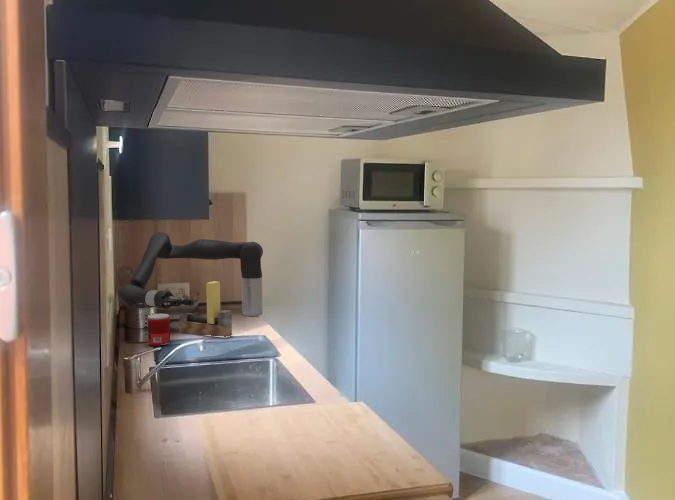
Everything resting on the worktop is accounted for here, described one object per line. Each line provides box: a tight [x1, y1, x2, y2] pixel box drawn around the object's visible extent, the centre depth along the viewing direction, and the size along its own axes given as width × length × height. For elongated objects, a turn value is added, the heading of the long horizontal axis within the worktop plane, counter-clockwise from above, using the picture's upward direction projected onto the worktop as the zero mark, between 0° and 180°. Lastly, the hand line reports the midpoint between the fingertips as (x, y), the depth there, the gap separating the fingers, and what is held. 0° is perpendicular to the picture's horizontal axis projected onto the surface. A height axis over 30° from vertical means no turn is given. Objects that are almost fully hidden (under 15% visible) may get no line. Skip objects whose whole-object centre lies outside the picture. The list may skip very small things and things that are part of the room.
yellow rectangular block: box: [205, 280, 221, 324], centre depth 263 cm, size 3×5×16 cm, turn 153°
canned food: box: [147, 313, 171, 347], centre depth 251 cm, size 8×8×11 cm
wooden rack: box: [178, 309, 233, 337], centre depth 266 cm, size 23×4×10 cm, turn 63°
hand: (192, 302), depth 268 cm, fingers closed
